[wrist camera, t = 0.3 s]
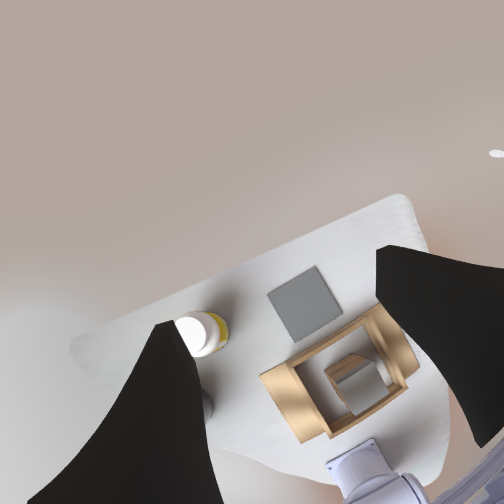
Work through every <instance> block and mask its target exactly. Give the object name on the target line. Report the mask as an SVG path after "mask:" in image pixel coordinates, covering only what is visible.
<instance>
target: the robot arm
mask: <svg viewBox="0 0 504 504" xmlns="http://www.w3.org/2000/svg"><path fill="white" fill-rule="evenodd" d="M376 297H377V299H378V300H379V302H380V303H381V304H382V306H383V307H384V309H385V310H386V311H387V312H388V314H389V315H390V316H391V317H392V318H393V319H394V321H395V322H396V323H397V324H398V325H399V326H400V327H401V328H402V329H403V330H404V331H405V332H406V333H407V334H408V335H409V336H410V337H411V338H412V339H413V340H414V341H415V342H416V343H417V344H418V345H419V346H420V348H421V349H422V350H423V351H424V352H425V353H426V354H427V355H428V356H429V358H430V359H431V360H432V361H433V362H434V364H435V365H436V367H437V368H438V369H439V371H440V372H441V374H442V375H443V377H444V378H445V380H446V381H447V383H448V385H449V386H450V388H451V389H452V391H453V393H454V394H455V396H456V398H457V400H458V402H459V404H460V406H461V408H462V409H463V412H464V414H465V416H466V418H467V421H468V423H469V425H470V428H471V431H472V433H473V436H474V439H475V442H476V443H477V444H478V445H479V447H480V448H482V447H484V446H485V445H486V444H487V443H488V442H489V441H490V440H491V439H492V438H493V437H494V436H495V435H496V434H497V433H498V432H499V431H500V430H501V429H502V428H503V427H504V269H503V268H494V267H488V266H481V265H476V264H470V263H466V262H462V261H457V260H453V259H449V258H445V257H441V256H437V255H433V254H429V253H425V252H421V251H417V250H413V249H409V248H405V247H400V246H394V245H388V246H385V247H383V248H380V249H377V250H376ZM372 443H373V445H371V444H372ZM325 467H326V469H327V470H328V472H329V473H330V475H331V476H332V478H333V479H334V480H335V482H336V483H337V485H338V486H339V488H340V489H341V491H342V494H343V496H344V500H343V503H344V504H462V503H463V502H465V501H466V500H467V499H468V498H469V497H471V496H472V495H473V494H474V493H475V492H476V491H477V490H478V489H480V488H481V487H482V486H483V485H484V484H485V483H486V482H487V483H486V484H485V486H484V488H485V491H483V492H482V493H481V494H480V495H479V496H477V497H476V498H475V499H474V500H473V501H471V502H470V503H469V504H504V438H503V439H502V440H501V441H500V442H499V443H498V444H497V445H496V446H495V447H494V448H493V449H492V450H491V452H489V453H488V455H487V456H485V457H484V458H483V459H482V460H481V461H480V462H479V463H478V464H477V465H476V466H475V467H474V468H473V469H472V470H470V471H469V472H468V473H467V474H466V475H465V476H464V477H462V478H461V479H460V480H459V481H458V482H456V483H455V484H454V485H453V486H452V487H450V488H449V489H448V490H446V491H445V492H444V493H442V494H441V495H440V496H438V497H437V498H436V499H434V500H433V501H431V502H430V501H429V499H428V496H427V494H426V492H425V490H424V488H423V486H422V485H421V483H420V482H419V481H418V479H417V478H416V477H415V476H414V475H413V474H411V473H403V474H402V475H401V477H400V476H399V474H398V473H397V472H395V473H393V472H392V471H391V469H390V468H389V466H388V464H387V463H386V461H385V459H384V457H383V455H382V454H381V452H380V450H379V448H378V446H377V445H376V443H375V441H374V440H373V439H369V440H368V441H366V442H364V443H363V444H361V445H359V446H358V447H356V448H354V449H353V450H351V451H349V452H347V453H345V454H344V455H342V456H340V457H338V458H336V459H334V460H332V461H331V462H329V463H327V464H326V465H325ZM329 467H331V468H330V469H329ZM27 504H224V502H223V499H222V496H221V493H220V491H219V487H218V484H217V481H216V478H215V475H214V471H213V467H212V463H211V460H210V456H209V450H208V444H207V437H206V428H205V420H204V410H203V401H202V392H201V385H200V381H199V376H198V372H197V367H196V363H195V361H194V359H193V357H192V355H191V353H190V351H189V350H188V348H187V346H186V344H185V342H184V340H183V338H182V337H181V335H180V333H179V331H178V329H177V327H176V325H175V323H174V321H173V320H170V321H167V322H164V323H160V324H157V325H155V327H154V329H153V330H152V332H151V334H150V336H149V338H148V340H147V342H146V344H145V346H144V348H143V350H142V353H141V355H140V357H139V359H138V361H137V363H136V364H135V366H134V368H133V370H132V372H131V374H130V376H129V378H128V380H127V381H126V383H125V385H124V387H123V389H122V390H121V392H120V394H119V396H118V398H117V399H116V401H115V403H114V404H113V406H112V408H111V409H110V411H109V412H108V414H107V415H106V417H105V418H104V420H103V421H102V423H101V424H100V426H99V427H98V429H97V430H96V431H95V433H94V434H93V435H92V436H91V438H90V439H89V440H88V442H87V443H86V444H85V445H84V447H83V448H82V449H81V450H80V452H79V453H78V454H77V455H76V456H75V458H74V459H73V460H72V461H71V462H70V463H69V464H68V465H67V466H66V467H65V468H64V469H63V470H62V471H61V473H59V474H58V475H57V477H55V478H54V479H53V480H52V481H51V482H50V483H49V484H48V485H46V486H45V487H44V488H43V489H42V490H40V491H39V492H38V493H37V494H36V495H34V496H33V497H32V498H31V499H29V500H28V502H27Z"/></svg>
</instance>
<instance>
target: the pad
mask: <svg viewBox="0 0 504 504" xmlns="http://www.w3.org/2000/svg"><path fill="white" fill-rule="evenodd" d="M267 296H268V298H269V299H270V301H271V303H272V305H273V306H274V308H275V310H276V311H277V313H278V315H279V317H280V318H281V320H282V322H283V324H284V325H285V327H286V329H287V331H288V332H289V334H290V336H291V337H292V339H293V341H294V343H296V342H298V341H299V340H301V339H303V338H305V337H306V336H308V335H310V334H311V333H313V332H315V331H316V330H318V329H320V328H321V327H323V326H324V325H326V324H328V323H329V322H331V321H332V320H334V319H336V318H337V317H339V316H340V315H342V314H343V313H342V312H341V310H340V308H339V307H338V305H337V303H336V301H335V300H334V298H333V296H332V295H331V293H330V291H329V290H328V288H327V286H326V285H325V283H324V281H323V280H322V278H321V276H320V275H319V273H318V271H317V270H316V268H315V267H314V268H312V269H310V270H309V271H307V272H305V273H304V274H302V275H300V276H299V277H297V278H295V279H294V280H292V281H290V282H288V283H287V284H285V285H283V286H281V287H280V288H278V289H276V290H275V291H273V292H271V293H269V294H268V295H267Z"/></svg>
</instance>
